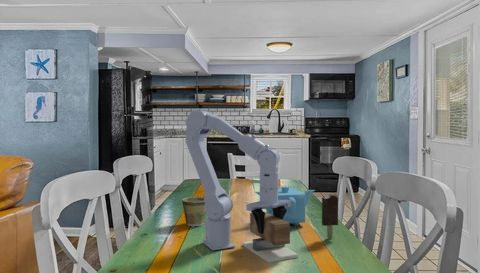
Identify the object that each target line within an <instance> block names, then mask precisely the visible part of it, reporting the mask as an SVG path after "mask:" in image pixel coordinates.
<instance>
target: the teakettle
mask: <svg viewBox="0 0 480 273" xmlns="http://www.w3.org/2000/svg"><path fill="white" fill-rule="evenodd" d="M315 191H316V190H315V189H309V190H306V191H305V193H303V192H302V191H299V190H298V189H296V188H290V186H286V185H285V186H284V185H283V186H279V185H278V200H290V201H291V207H285V208H286V209H287V212H286V214H285V215H284V217H283V220H284V221H287V222H289V223H290V224H292V225H293V226H296V227H297V226H301V224H305V223H306V208H307V205H308V203H309V202H308V201H309V198H310V195H311V194H312V193H314V192H315ZM254 193H255V194H257V195H258V196H259V197H260V191H254ZM265 210H266V211H265V212H266V213H268V214H271V215H273V210H272V208H269V209H265Z"/></svg>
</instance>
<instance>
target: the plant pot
mask: <svg viewBox="0 0 480 273" xmlns="http://www.w3.org/2000/svg"><path fill="white" fill-rule="evenodd" d="M181 201H182V202H181V203H182V208H183V213H184V219H185V224H186V226H187V225H188V226H187V227H189V226H199V227H202V226H204V225H205V222H206V220H205V219H206V216H207V214H206V212H205V202H204V197H203V196H202V197H201V196H191V197H184V198H182V200H181ZM203 224H204V225H203ZM201 225H202V226H201Z"/></svg>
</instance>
